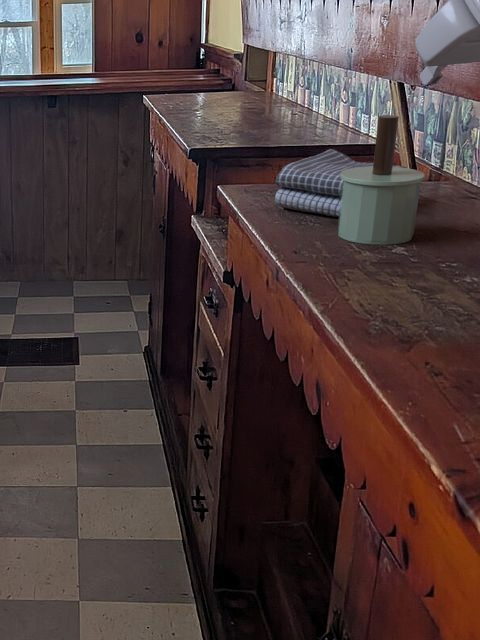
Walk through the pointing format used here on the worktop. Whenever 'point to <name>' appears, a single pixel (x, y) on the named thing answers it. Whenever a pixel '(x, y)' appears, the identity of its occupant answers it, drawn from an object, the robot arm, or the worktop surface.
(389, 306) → the worktop surface
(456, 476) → the worktop surface
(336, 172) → the towel
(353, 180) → the lid
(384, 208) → the canister
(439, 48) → the robot arm
